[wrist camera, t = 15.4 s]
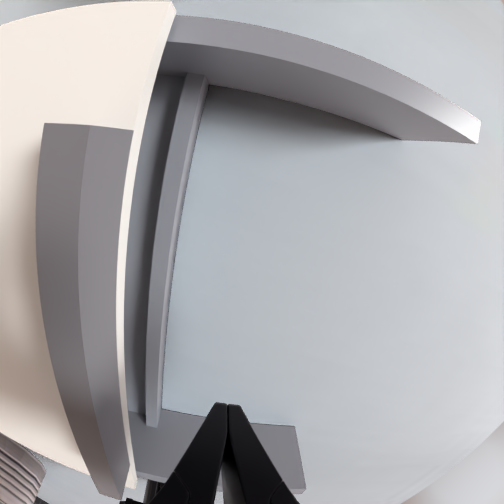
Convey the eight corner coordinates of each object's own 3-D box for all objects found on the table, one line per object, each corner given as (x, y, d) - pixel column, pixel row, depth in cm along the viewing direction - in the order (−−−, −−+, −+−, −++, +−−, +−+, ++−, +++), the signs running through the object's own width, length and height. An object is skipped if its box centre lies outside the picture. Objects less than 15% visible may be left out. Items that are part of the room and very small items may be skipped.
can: (-24, 417, 23) (-54, 467, 12) (24, 441, 24) (-6, 504, 12) (10, 459, 27) (-12, 505, 16) (58, 481, 27) (39, 535, 16)
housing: (291, 432, 21) (301, 493, 16) (3, 359, 18) (-29, 400, 13) (406, 124, 14) (480, 121, 8) (-6, 70, 11) (-67, 62, 5)
